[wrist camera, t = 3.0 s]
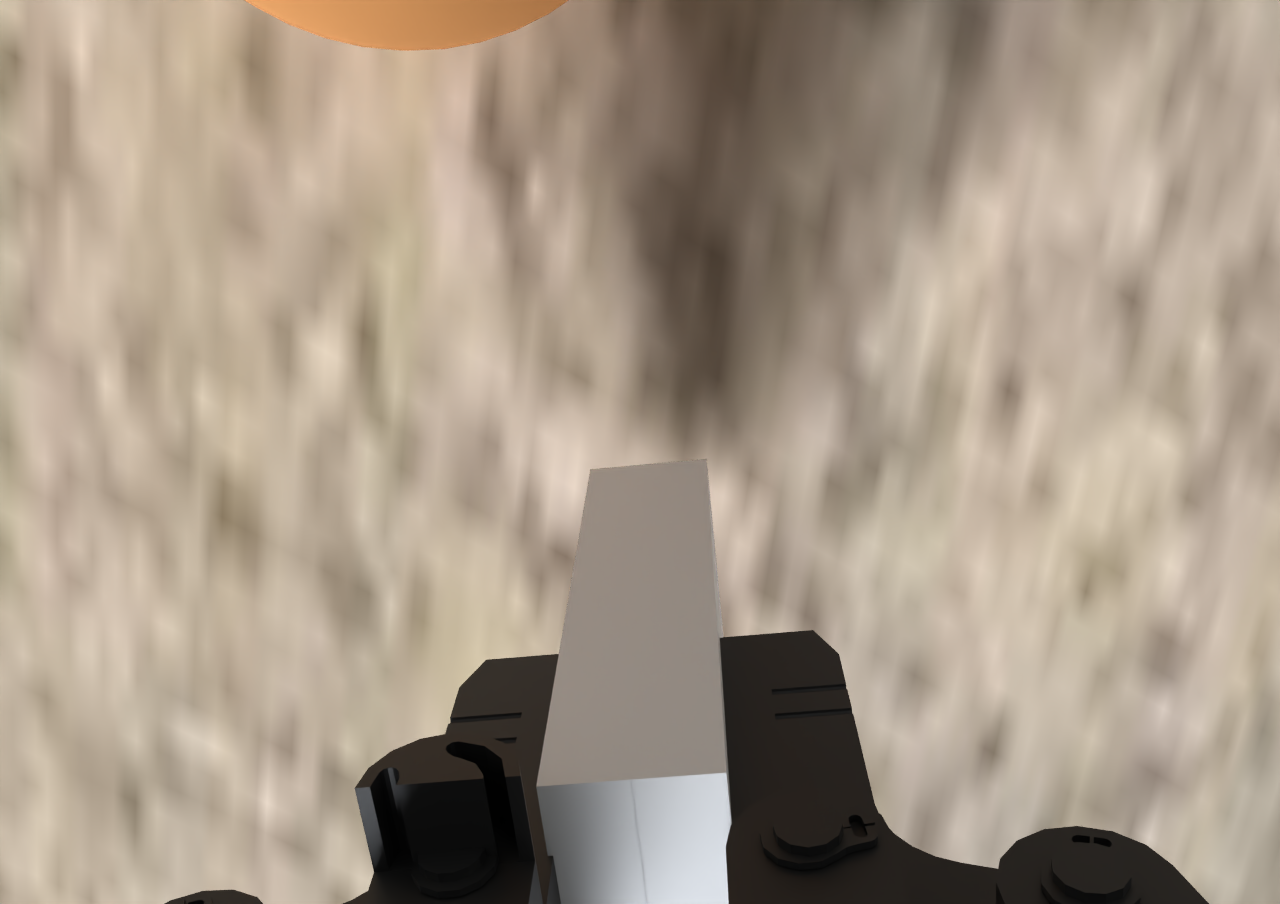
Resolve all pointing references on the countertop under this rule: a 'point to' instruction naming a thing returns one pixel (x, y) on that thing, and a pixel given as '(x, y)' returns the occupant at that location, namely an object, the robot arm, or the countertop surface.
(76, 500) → the countertop surface
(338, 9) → the ball
